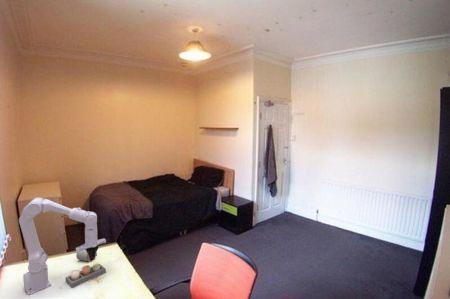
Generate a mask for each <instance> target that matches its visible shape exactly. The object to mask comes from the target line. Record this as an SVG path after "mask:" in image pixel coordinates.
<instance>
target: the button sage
mask: <svg viewBox="0 0 450 299" xmlns="http://www.w3.org/2000/svg"><path fill="white" fill-rule="evenodd" d="M100 265H101V264H100V263H95V264H93V265H92V266H93V272H95V271H97V270H100Z"/></svg>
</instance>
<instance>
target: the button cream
mask: <svg viewBox="0 0 450 299" xmlns="http://www.w3.org/2000/svg"><path fill="white" fill-rule="evenodd" d="M79 272H80V270H79V269H74V270H72V271H70V275H71V280H72V281H74V280H76V279H79V278H80V274H79Z"/></svg>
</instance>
